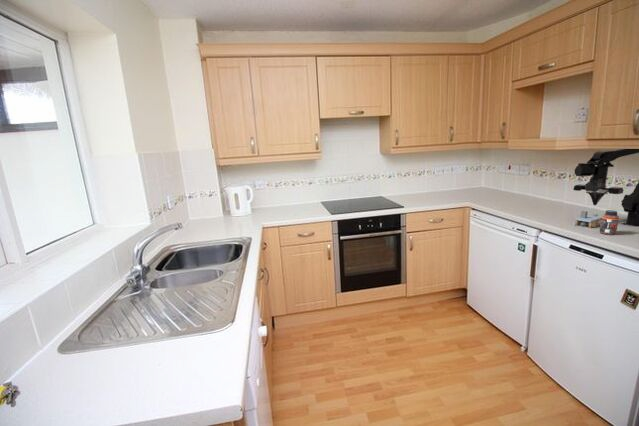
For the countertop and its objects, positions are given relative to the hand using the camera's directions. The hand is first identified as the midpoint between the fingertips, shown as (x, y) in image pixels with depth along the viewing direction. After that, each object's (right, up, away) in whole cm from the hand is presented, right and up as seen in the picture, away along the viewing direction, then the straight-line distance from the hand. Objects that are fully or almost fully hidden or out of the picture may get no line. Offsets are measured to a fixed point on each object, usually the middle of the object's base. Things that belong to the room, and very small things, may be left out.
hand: (594, 205), depth 159 cm
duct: (-2, -11, +2) cm, 11 cm away
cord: (-3, -11, +1) cm, 11 cm away
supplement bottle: (-6, -14, -13) cm, 21 cm away
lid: (-2, -7, +1) cm, 8 cm away
